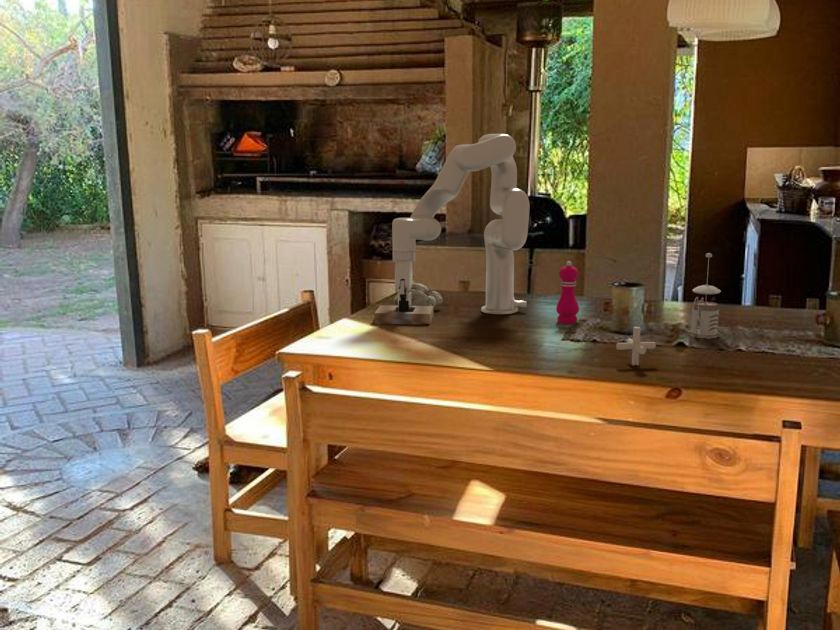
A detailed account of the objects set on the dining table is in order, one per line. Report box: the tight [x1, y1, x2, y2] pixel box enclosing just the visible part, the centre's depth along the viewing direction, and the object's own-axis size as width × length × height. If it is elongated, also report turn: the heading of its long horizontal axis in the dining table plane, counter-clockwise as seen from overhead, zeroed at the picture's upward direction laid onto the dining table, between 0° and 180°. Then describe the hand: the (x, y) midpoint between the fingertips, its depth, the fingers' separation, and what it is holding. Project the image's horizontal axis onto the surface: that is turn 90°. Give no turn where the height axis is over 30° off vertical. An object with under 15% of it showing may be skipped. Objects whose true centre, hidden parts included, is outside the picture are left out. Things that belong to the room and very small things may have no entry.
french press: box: [689, 252, 722, 335], centre depth 247 cm, size 10×12×25 cm
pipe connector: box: [615, 326, 657, 366], centre depth 217 cm, size 10×10×10 cm
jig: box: [374, 304, 435, 325], centre depth 273 cm, size 18×13×4 cm
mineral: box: [393, 282, 444, 307], centre depth 291 cm, size 12×17×10 cm
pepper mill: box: [555, 260, 580, 325], centre depth 267 cm, size 7×7×20 cm
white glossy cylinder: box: [397, 291, 412, 312], centre depth 272 cm, size 4×4×7 cm
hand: (404, 310), depth 273 cm, fingers closed on white glossy cylinder, 4 cm apart
